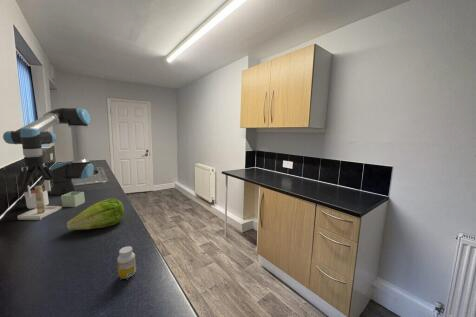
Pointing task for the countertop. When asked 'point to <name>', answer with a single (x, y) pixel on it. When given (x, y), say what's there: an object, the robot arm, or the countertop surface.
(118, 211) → the lettuce
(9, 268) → the countertop surface
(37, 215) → the dish
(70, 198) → the pen pot
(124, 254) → the supplement bottle
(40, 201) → the dowel
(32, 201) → the cup
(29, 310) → the countertop surface
